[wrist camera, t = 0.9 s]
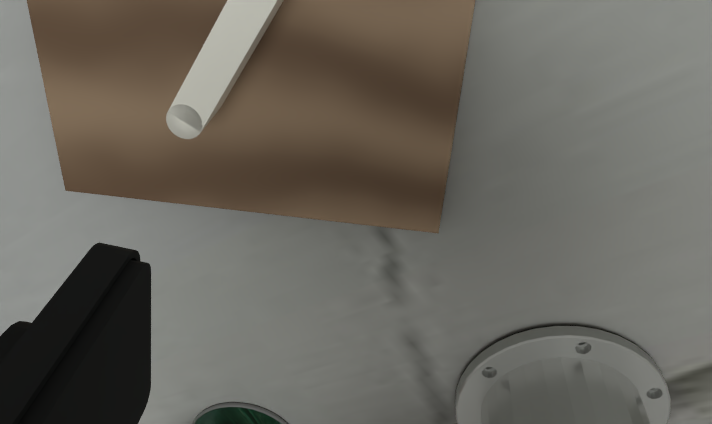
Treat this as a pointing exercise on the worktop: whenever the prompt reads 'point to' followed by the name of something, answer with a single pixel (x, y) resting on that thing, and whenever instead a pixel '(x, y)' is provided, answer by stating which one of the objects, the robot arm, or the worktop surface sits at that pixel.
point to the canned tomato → (237, 415)
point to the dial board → (262, 106)
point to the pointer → (219, 64)
